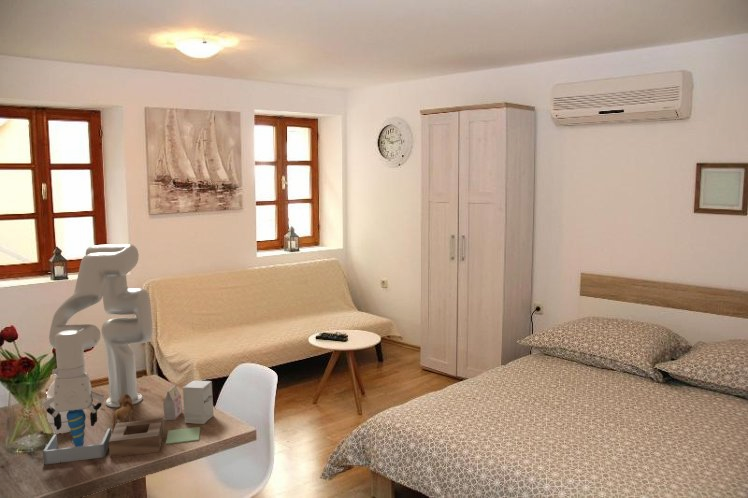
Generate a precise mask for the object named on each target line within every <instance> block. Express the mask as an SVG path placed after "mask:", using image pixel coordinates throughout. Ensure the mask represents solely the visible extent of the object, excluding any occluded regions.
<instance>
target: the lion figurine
mask: <svg viewBox="0 0 748 498" xmlns="http://www.w3.org/2000/svg"><path fill="white" fill-rule="evenodd" d="M118 403H119V404H120V407H119V408H117V409H115V411H114V412H113V415H112V420H113V421H112V425H111V433H113V431H114V428H115V426H116V424H117V423H118V419H119V420H120V423H124V422H126V417H127V416H128V422H133V421H134V419H133V409H134V405H133V403H132V399H131V397H130V396H129V395H128V394H122V396H121V397H120V399H119V400H118Z"/></svg>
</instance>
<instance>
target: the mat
mask: <svg viewBox="0 0 748 498" xmlns="http://www.w3.org/2000/svg"><path fill="white" fill-rule="evenodd" d="M200 433H201V426H196V427H195V426H194V427H187V428H180V429H169V430H168V432H167V436H166V440H165V445H173V444H179V443H180V444H181V443H182V444H183V443H190V442H197V441H200V435H201V434H200Z"/></svg>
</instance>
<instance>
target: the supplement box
mask: <svg viewBox="0 0 748 498" xmlns="http://www.w3.org/2000/svg"><path fill="white" fill-rule="evenodd" d="M212 382H213V381H211V380H192V381H190V382H189V383H188V384H186V385H185V386H183V387H182V394H183V398H182V399H183V413H184V424H196V425H198V424H199V425H205V424H206V423H207V422H208V421H209V420H210V419H211V418H212V417H214V401H213V400H214V399H213V383H212Z"/></svg>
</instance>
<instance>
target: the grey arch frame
mask: <svg viewBox="0 0 748 498" xmlns="http://www.w3.org/2000/svg"><path fill="white" fill-rule="evenodd" d="M111 435H112V427H111V428H109V427H108V428H107V430H106V432H105V434H104V436H103V438H102V441H101V443H97V444H86V445H83V446H77V447H75V446H70V447H62V448H60V447H59V445H58V443H59V442H58V434H52V436H51V438H50V440H49V442H48V443H47V444H46V445H45V448H44V449H43V451H42V459H43V465H44V464H45V465H52V464H60V462H61V463H67V462H69V463H70V462H76V461H83V460H84V461H85V460H94V459H100V458H105V457H106V455H107V453H108V450H109V440H110V437H111ZM58 447H59V448H58Z"/></svg>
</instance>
